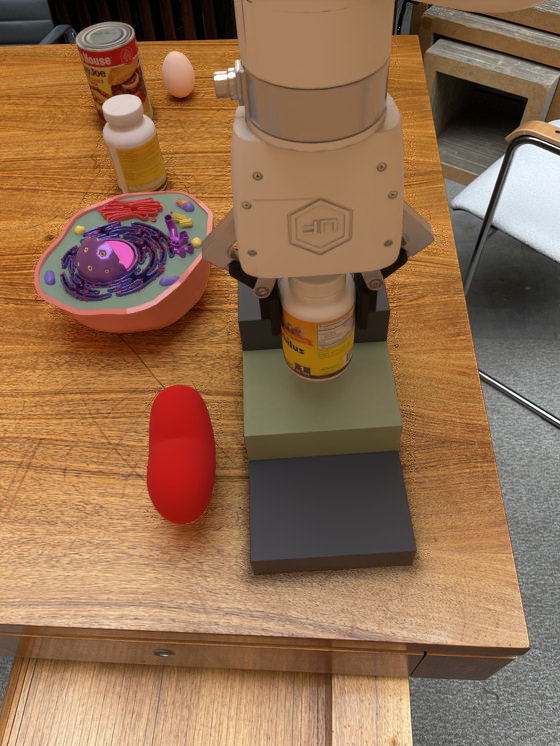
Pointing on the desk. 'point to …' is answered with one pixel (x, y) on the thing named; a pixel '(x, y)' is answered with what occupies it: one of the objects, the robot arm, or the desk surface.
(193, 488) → the red kidney model
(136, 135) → the pill bottle
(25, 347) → the desk surface
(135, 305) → the cell model
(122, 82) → the canned food
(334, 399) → the tiered shelf
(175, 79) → the egg
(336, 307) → the supplement bottle
